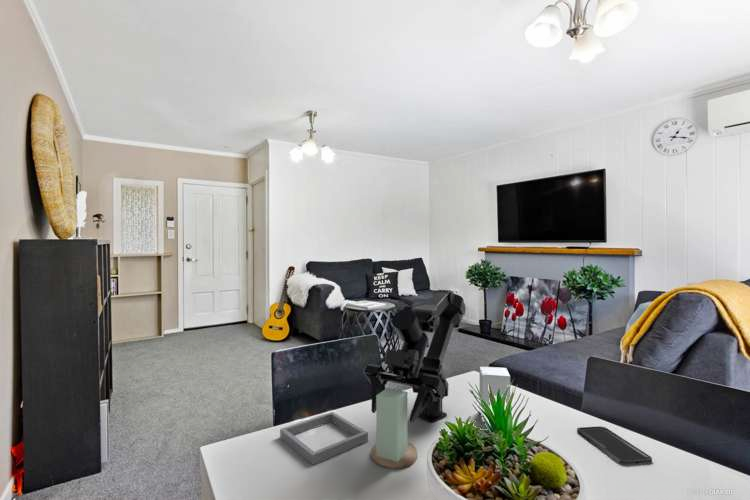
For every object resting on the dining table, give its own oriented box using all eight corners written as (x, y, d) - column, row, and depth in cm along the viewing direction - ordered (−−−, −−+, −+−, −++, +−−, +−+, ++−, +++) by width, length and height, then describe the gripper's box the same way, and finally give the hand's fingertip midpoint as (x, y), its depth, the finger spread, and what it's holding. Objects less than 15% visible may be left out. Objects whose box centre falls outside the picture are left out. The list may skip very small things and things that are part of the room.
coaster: (395, 439, 90) (395, 434, 90) (426, 456, 82) (426, 452, 82) (362, 454, 84) (362, 449, 84) (393, 474, 76) (393, 469, 76)
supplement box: (511, 425, 97) (511, 376, 97) (481, 422, 98) (481, 374, 98) (506, 413, 104) (506, 367, 104) (479, 410, 106) (479, 365, 106)
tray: (332, 419, 101) (332, 411, 101) (367, 441, 89) (367, 432, 89) (280, 437, 91) (280, 429, 91) (312, 464, 79) (312, 455, 79)
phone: (603, 426, 95) (654, 459, 80) (603, 430, 95) (654, 464, 80) (574, 427, 94) (620, 461, 79) (574, 432, 94) (620, 467, 79)
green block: (387, 445, 85) (387, 387, 85) (407, 450, 83) (407, 391, 83) (376, 455, 81) (376, 395, 81) (397, 462, 79) (397, 400, 78)
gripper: (366, 330, 91) (340, 391, 81) (440, 339, 82) (421, 409, 72) (382, 354, 98) (359, 413, 88) (452, 365, 88) (435, 433, 79)
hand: (391, 416), depth 82 cm, fingers open, 9 cm apart
